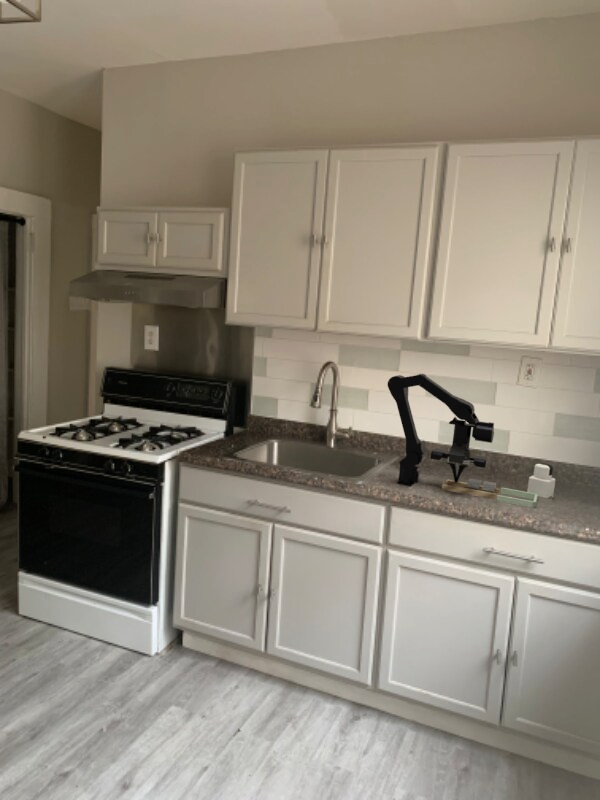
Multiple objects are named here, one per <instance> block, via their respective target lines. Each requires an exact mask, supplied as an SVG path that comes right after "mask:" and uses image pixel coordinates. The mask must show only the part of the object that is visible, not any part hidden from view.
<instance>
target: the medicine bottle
mask: <svg viewBox="0 0 600 800" xmlns="http://www.w3.org/2000/svg"><path fill="white" fill-rule="evenodd" d="M533 468H534V469H533V475H531V476H529V477H528V480H527V489H526V492H529V493H535V494H538V497H540V498H544V499H549V498H551V499H552V498H553V497H554V492H555V484H556V478H554V477H553V472H554V467H553V466H552V465H551V464H549V463H543V462H538V463H535V464H534V467H533Z"/></svg>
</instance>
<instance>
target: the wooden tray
mask: <svg viewBox="0 0 600 800" xmlns="http://www.w3.org/2000/svg"><path fill="white" fill-rule="evenodd" d="M467 484H468V482H463V481H459V480H458V482H455V480H451V479H446V480H445V481H444V483H443V484H442V485H441V490H443V491H448V492H454V493H459V494H464V495H470V496H476V497H480V498H486V499H491V500H496V501H497V495H500V488H497V487H496V490H495V493H490V492H485V491H482V486H483V485H481V488H480V491H479V490H474V489H468V488H467Z"/></svg>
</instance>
